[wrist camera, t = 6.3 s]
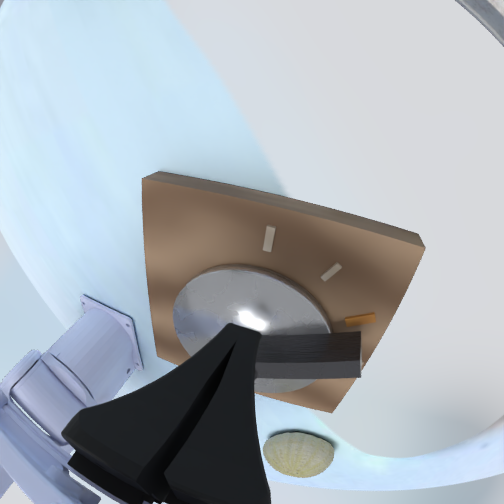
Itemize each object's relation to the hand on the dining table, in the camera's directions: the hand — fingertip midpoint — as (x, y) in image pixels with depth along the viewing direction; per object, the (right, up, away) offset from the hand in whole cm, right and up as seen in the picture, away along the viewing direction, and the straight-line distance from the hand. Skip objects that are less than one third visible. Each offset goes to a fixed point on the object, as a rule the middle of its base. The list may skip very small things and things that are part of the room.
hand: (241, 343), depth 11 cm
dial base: (+1, -1, +11) cm, 12 cm away
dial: (+1, -2, +9) cm, 10 cm away
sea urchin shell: (+7, -21, +21) cm, 31 cm away
